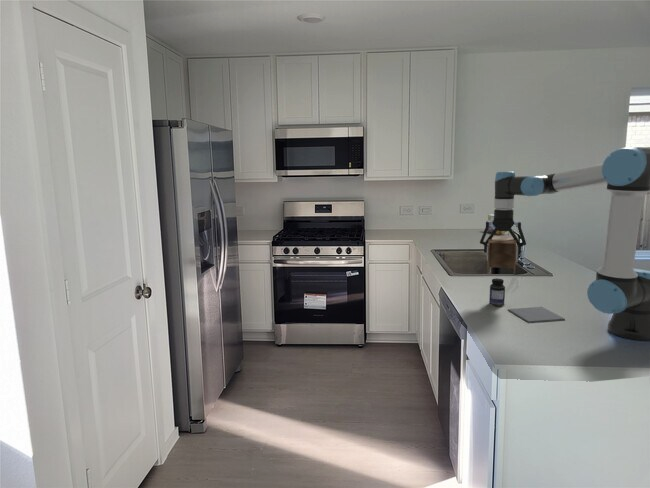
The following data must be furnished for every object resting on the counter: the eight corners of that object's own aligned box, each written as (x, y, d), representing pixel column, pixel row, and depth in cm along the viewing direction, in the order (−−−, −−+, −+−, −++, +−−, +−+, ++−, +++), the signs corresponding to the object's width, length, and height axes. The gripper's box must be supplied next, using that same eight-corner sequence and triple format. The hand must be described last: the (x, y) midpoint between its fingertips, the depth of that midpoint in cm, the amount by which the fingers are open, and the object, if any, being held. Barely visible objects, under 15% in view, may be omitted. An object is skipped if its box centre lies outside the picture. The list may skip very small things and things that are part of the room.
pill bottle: (492, 301, 201) (493, 277, 199) (506, 303, 198) (507, 279, 196) (487, 304, 197) (488, 280, 195) (501, 307, 193) (502, 282, 191)
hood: (515, 268, 196) (516, 237, 194) (515, 273, 186) (516, 241, 184) (488, 266, 200) (489, 236, 198) (487, 272, 190) (488, 240, 188)
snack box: (487, 231, 392) (487, 214, 389) (492, 231, 393) (493, 214, 391) (503, 235, 372) (504, 217, 369) (509, 234, 374) (510, 216, 371)
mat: (564, 320, 176) (564, 318, 176) (528, 322, 174) (528, 321, 174) (541, 308, 191) (541, 306, 191) (508, 310, 189) (508, 309, 189)
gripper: (534, 208, 188) (531, 260, 191) (475, 207, 196) (473, 257, 200) (534, 210, 181) (532, 264, 184) (473, 209, 190) (472, 261, 193)
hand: (501, 261), depth 192 cm, fingers closed on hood, 11 cm apart
